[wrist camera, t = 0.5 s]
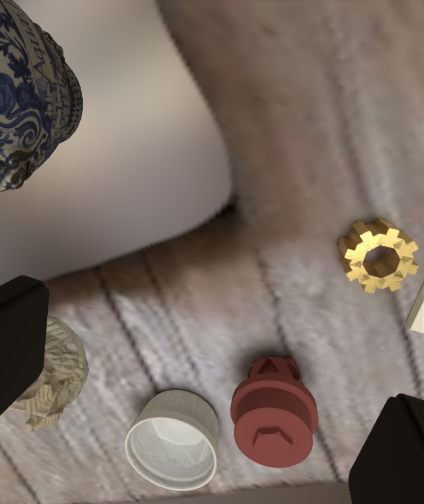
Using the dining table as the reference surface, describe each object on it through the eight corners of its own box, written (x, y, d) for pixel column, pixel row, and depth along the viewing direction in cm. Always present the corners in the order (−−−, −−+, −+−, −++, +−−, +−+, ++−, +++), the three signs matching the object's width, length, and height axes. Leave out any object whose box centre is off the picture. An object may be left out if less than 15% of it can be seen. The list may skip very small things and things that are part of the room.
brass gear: (349, 211, 38) (357, 221, 34) (414, 225, 37) (431, 237, 33) (329, 268, 41) (335, 283, 37) (390, 283, 40) (403, 300, 36)
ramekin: (180, 366, 50) (165, 401, 44) (243, 424, 51) (238, 467, 45) (126, 408, 55) (106, 446, 48) (185, 461, 56) (173, 504, 50)
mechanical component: (297, 409, 48) (230, 386, 49) (323, 353, 45) (249, 329, 46) (302, 495, 37) (214, 463, 38) (337, 430, 33) (239, 396, 34)
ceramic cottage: (-4, 295, 52) (-103, 364, 38) (98, 331, 51) (34, 414, 38) (-5, 368, 58) (-89, 449, 45) (85, 401, 58) (27, 492, 44)
